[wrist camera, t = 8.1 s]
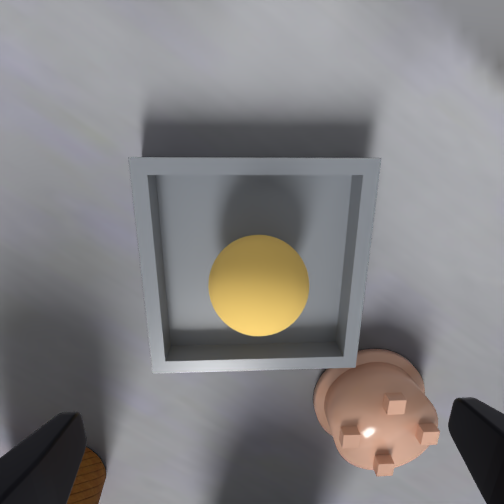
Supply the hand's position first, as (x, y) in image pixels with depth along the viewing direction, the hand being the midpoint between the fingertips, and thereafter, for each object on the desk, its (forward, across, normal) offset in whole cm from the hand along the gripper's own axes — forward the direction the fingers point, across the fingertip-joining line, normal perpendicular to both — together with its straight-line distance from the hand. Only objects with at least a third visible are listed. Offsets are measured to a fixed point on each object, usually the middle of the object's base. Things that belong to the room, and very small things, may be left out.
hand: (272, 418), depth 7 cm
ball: (+11, 0, 0) cm, 11 cm away
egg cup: (+11, -8, +10) cm, 17 cm away
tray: (+11, 0, 0) cm, 11 cm away
